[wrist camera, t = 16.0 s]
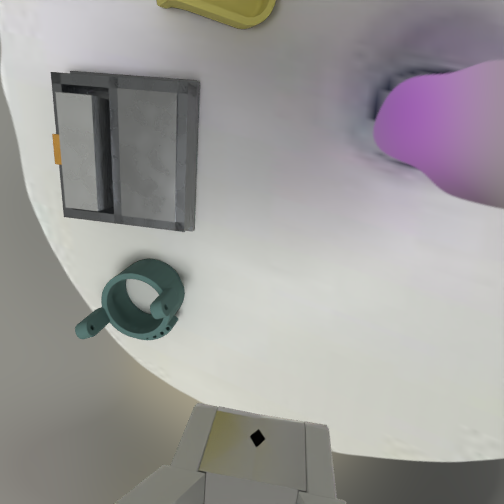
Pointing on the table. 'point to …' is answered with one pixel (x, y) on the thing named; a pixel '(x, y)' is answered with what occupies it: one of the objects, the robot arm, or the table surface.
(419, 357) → the table surface
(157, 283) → the bracket
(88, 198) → the gray metallic block
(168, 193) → the grey flat box
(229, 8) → the plastic component
